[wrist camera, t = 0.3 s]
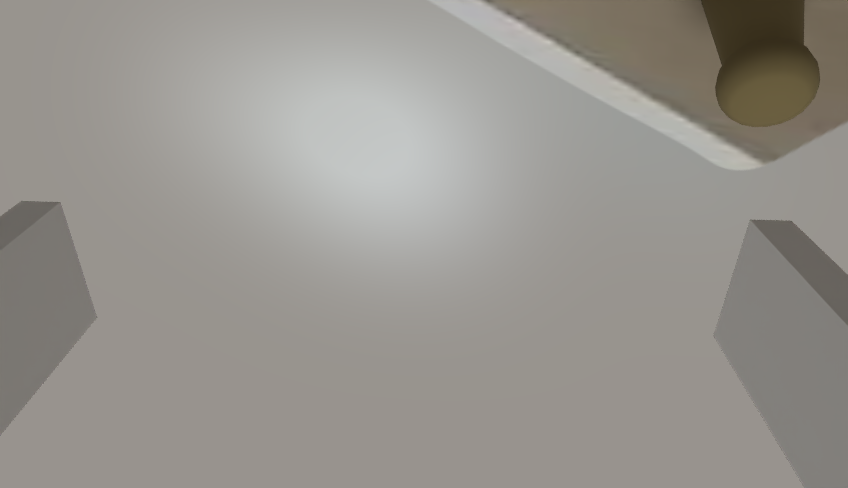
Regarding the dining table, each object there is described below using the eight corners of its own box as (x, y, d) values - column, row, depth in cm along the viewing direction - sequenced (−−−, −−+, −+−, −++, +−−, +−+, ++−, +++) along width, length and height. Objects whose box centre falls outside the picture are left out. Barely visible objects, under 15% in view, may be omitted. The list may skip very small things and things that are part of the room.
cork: (759, 33, 43) (778, 153, 37) (680, 6, 42) (687, 124, 36) (828, -43, 38) (862, 84, 32) (739, -75, 37) (758, 49, 31)
